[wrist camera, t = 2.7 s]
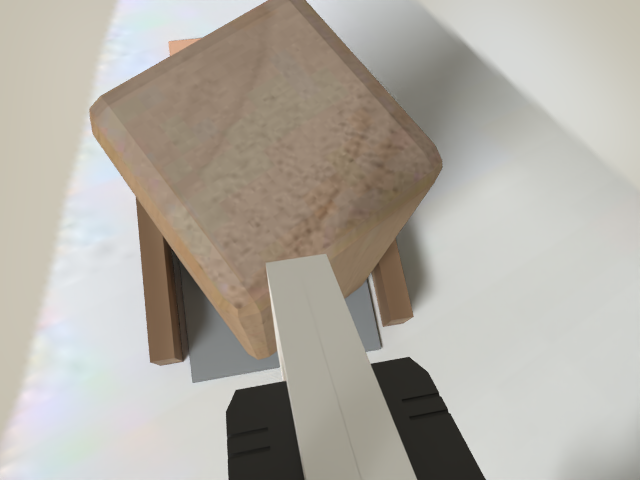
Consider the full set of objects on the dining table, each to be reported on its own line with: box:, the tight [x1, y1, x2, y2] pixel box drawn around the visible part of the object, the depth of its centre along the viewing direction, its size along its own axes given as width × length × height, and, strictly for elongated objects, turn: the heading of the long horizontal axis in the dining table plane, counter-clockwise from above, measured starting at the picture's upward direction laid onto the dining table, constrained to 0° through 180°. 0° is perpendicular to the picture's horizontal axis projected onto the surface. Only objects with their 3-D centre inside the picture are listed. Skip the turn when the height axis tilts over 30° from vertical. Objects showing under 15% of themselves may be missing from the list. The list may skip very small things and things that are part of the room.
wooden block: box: [89, 0, 442, 360], centre depth 28 cm, size 10×10×20 cm
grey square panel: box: [179, 260, 381, 383], centre depth 38 cm, size 13×15×1 cm
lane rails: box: [136, 197, 414, 366], centre depth 37 cm, size 17×13×3 cm
